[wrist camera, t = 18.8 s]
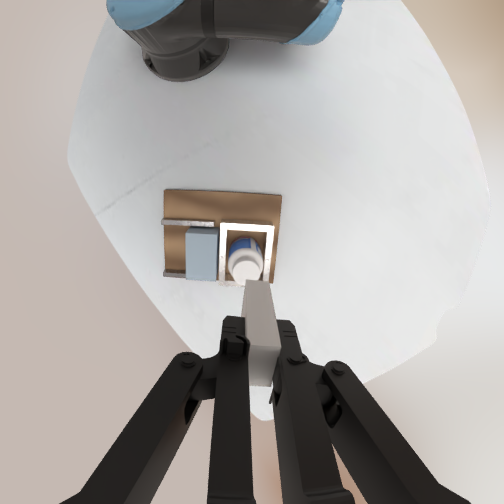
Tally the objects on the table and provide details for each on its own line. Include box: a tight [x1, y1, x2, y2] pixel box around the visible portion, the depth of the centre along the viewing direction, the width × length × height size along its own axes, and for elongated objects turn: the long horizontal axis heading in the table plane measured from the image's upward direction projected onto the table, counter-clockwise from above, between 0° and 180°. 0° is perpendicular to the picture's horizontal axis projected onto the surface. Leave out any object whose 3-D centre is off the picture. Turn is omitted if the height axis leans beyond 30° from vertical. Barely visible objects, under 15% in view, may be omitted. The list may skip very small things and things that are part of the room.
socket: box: [219, 219, 274, 287], centre depth 46 cm, size 11×8×3 cm
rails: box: [161, 218, 215, 278], centre depth 46 cm, size 10×9×2 cm
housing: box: [185, 226, 220, 282], centre depth 45 cm, size 8×5×4 cm, turn 176°
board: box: [164, 190, 282, 283], centre depth 47 cm, size 16×20×1 cm
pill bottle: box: [228, 236, 263, 286], centre depth 43 cm, size 6×5×10 cm
